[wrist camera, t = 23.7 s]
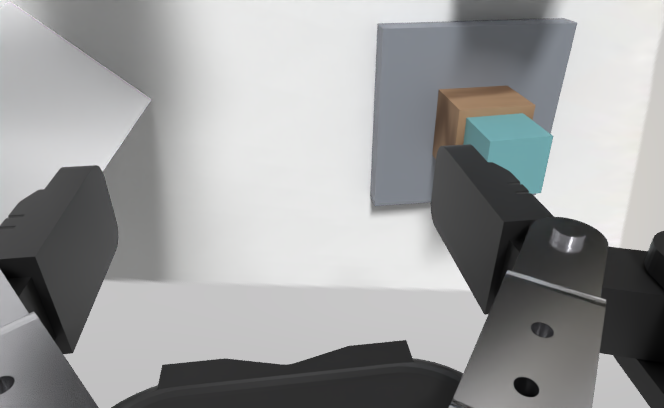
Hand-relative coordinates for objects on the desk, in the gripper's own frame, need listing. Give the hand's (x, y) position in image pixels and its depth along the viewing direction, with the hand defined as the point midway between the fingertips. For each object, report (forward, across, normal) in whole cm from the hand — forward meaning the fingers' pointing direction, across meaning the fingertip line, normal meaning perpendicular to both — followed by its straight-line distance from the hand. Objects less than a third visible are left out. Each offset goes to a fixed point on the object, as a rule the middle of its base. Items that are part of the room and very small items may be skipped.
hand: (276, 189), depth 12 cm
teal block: (+23, -17, +10) cm, 30 cm away
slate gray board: (+30, -17, +10) cm, 36 cm away
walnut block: (+28, -17, +10) cm, 34 cm away
